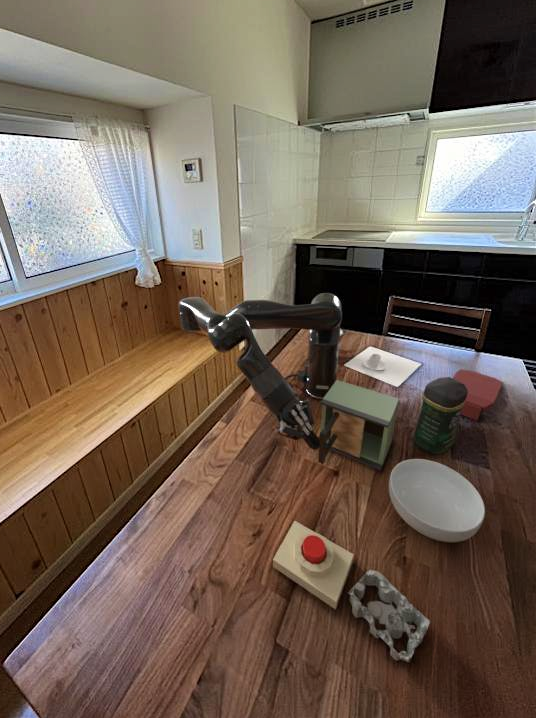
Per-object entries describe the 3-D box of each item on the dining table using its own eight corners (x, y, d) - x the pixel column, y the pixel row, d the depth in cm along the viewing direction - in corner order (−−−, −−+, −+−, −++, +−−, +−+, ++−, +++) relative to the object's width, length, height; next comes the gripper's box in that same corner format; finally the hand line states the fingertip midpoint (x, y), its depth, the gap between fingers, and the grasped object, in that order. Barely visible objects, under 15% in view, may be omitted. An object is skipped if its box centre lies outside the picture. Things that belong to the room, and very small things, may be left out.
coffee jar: (437, 460, 83) (453, 399, 75) (407, 441, 89) (419, 382, 82) (458, 444, 87) (476, 384, 80) (429, 426, 94) (442, 370, 86)
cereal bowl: (441, 573, 60) (449, 548, 57) (368, 501, 74) (372, 478, 71) (495, 528, 67) (504, 504, 64) (419, 469, 81) (424, 447, 78)
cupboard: (317, 444, 89) (320, 402, 84) (333, 419, 98) (336, 379, 92) (380, 471, 81) (388, 425, 75) (391, 441, 89) (399, 398, 84)
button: (298, 555, 61) (299, 549, 60) (308, 537, 64) (308, 530, 63) (319, 568, 59) (320, 562, 58) (328, 549, 61) (329, 542, 61)
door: (315, 470, 81) (318, 431, 76) (330, 443, 88) (334, 407, 83) (346, 485, 77) (351, 445, 72) (360, 456, 84) (365, 418, 79)
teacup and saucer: (370, 356, 129) (371, 347, 127) (391, 364, 124) (392, 354, 122) (359, 365, 124) (360, 356, 122) (379, 373, 118) (381, 364, 117)
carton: (457, 380, 118) (437, 405, 101) (461, 367, 117) (441, 391, 100) (499, 394, 111) (485, 423, 93) (503, 380, 109) (490, 408, 92)
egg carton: (342, 604, 57) (344, 589, 55) (370, 575, 60) (372, 561, 59) (402, 674, 49) (406, 659, 47) (429, 636, 52) (434, 621, 51)
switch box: (272, 566, 62) (272, 553, 61) (294, 527, 69) (294, 514, 68) (335, 609, 56) (337, 595, 54) (352, 561, 63) (354, 548, 61)
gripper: (275, 380, 88) (317, 434, 86) (247, 407, 78) (294, 469, 76) (294, 368, 82) (339, 426, 81) (267, 396, 73) (317, 462, 71)
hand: (317, 447), depth 78 cm, fingers closed
